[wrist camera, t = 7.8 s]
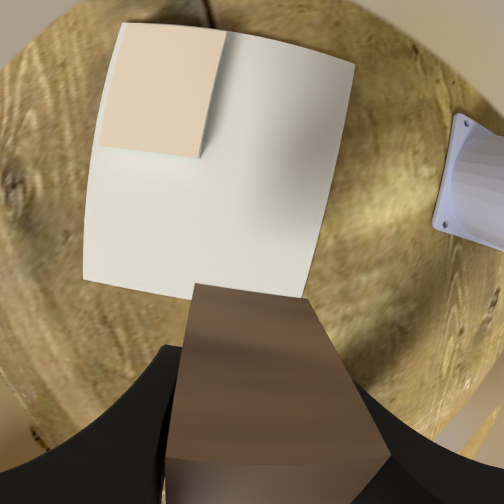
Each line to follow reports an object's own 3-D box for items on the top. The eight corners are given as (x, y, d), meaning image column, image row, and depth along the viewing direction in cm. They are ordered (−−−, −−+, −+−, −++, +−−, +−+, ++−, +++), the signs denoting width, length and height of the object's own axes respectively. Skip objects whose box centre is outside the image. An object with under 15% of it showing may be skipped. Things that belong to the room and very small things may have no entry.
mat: (352, 65, 15) (355, 64, 14) (294, 311, 19) (296, 314, 19) (124, 25, 13) (122, 22, 12) (85, 276, 17) (83, 279, 17)
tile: (200, 158, 15) (226, 41, 13) (197, 159, 14) (226, 31, 12) (109, 146, 15) (135, 33, 13) (98, 146, 13) (128, 23, 11)
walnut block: (281, 383, 12) (319, 533, 6) (184, 372, 12) (166, 533, 5) (307, 299, 11) (391, 454, 4) (194, 282, 11) (165, 456, 4)
